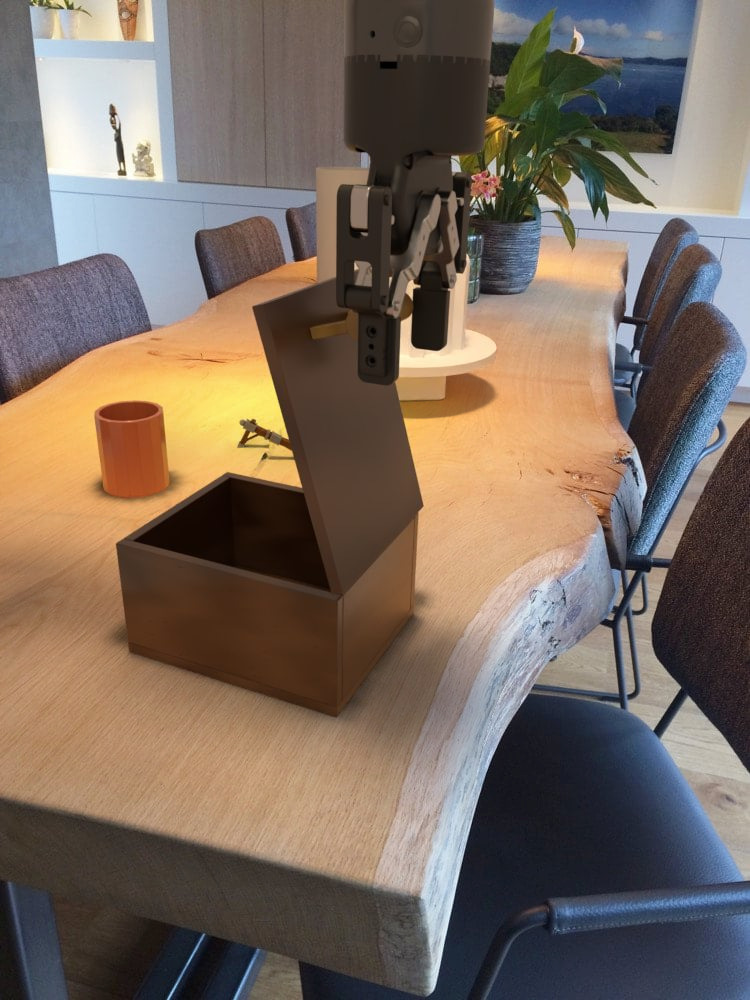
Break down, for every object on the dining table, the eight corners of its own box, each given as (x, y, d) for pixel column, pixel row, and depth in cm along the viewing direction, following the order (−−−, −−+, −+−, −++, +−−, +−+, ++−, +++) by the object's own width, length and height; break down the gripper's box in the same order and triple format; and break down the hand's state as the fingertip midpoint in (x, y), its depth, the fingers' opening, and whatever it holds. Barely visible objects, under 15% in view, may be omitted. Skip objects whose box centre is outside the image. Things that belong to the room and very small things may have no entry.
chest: (128, 651, 59) (115, 543, 56) (232, 566, 71) (227, 471, 67) (336, 717, 53) (337, 601, 50) (413, 613, 65) (418, 512, 61)
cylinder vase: (304, 296, 172) (303, 167, 162) (349, 289, 180) (351, 166, 169) (343, 307, 164) (344, 171, 153) (389, 299, 172) (393, 170, 161)
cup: (94, 507, 80) (82, 419, 76) (120, 481, 86) (110, 398, 82) (157, 512, 80) (148, 424, 76) (179, 485, 85) (172, 402, 81)
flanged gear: (323, 422, 103) (323, 267, 95) (306, 366, 126) (305, 236, 118) (515, 416, 107) (530, 267, 99) (466, 363, 130) (475, 237, 121)
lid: (251, 306, 44) (331, 289, 42) (358, 268, 56) (426, 253, 53) (331, 595, 50) (407, 594, 47) (414, 507, 61) (478, 502, 59)
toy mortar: (228, 446, 93) (243, 411, 91) (294, 473, 95) (310, 439, 93) (226, 452, 91) (241, 417, 89) (293, 480, 93) (309, 445, 91)
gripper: (402, 61, 50) (393, 331, 57) (283, 42, 38) (290, 387, 45) (524, 61, 47) (499, 345, 54) (438, 41, 35) (420, 409, 42)
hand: (404, 364), depth 49 cm, fingers open, 7 cm apart
